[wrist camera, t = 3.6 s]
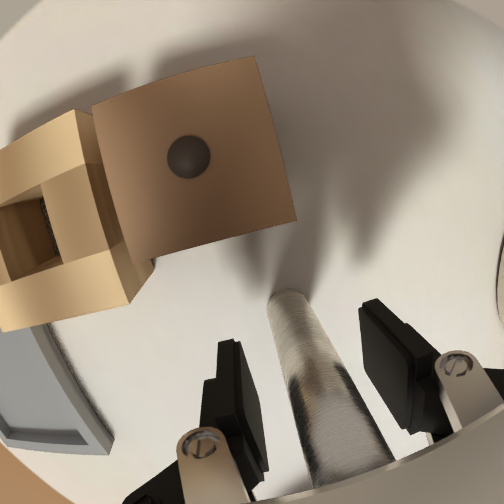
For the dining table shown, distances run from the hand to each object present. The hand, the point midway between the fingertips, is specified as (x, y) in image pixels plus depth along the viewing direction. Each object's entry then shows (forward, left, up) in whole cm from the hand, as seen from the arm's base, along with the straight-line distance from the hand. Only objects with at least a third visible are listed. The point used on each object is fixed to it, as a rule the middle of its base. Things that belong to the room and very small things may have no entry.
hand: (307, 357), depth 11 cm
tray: (+18, +2, -4) cm, 19 cm away
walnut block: (+2, -7, -4) cm, 9 cm away
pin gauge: (0, 0, -4) cm, 4 cm away
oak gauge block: (+9, -7, -4) cm, 12 cm away
